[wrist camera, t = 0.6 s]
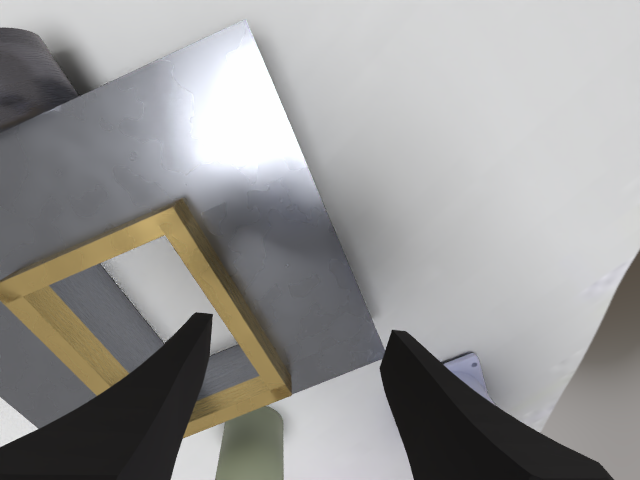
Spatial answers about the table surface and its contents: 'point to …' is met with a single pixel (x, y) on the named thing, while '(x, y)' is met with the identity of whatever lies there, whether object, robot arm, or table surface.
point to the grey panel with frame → (164, 229)
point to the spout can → (252, 447)
